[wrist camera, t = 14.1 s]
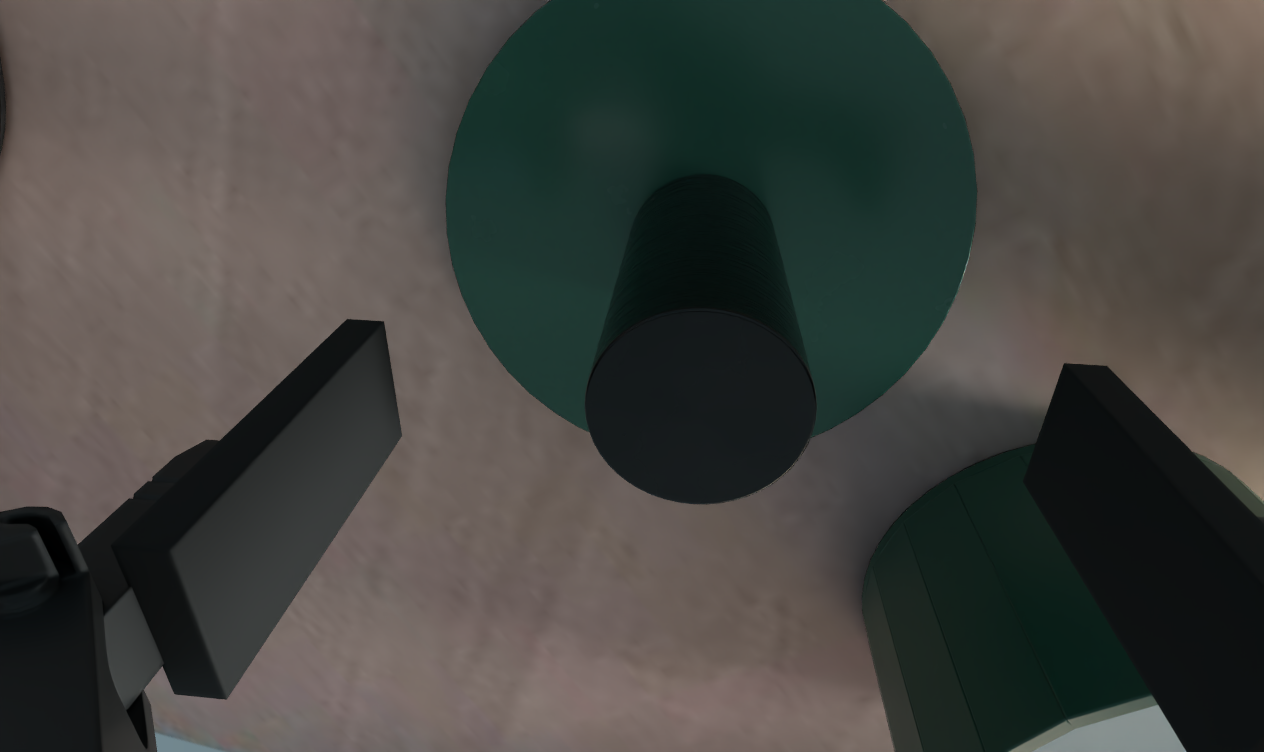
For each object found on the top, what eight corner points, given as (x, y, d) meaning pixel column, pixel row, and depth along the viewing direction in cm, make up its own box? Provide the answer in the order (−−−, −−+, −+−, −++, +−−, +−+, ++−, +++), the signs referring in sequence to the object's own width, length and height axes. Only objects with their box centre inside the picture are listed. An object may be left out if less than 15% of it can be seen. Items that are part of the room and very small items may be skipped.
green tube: (835, 698, 33) (880, 957, 25) (901, 421, 26) (1000, 652, 17) (1179, 729, 32) (1354, 1011, 24) (1352, 450, 25) (1697, 711, 16)
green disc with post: (477, 426, 28) (361, 660, 18) (429, -62, 20) (184, -85, 10) (905, 454, 27) (1012, 719, 17) (1031, -49, 19) (1351, -61, 9)
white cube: (1019, 671, 31) (1082, 816, 26) (952, 584, 29) (1005, 722, 23) (1170, 616, 28) (1273, 763, 23) (1108, 517, 26) (1206, 654, 21)
